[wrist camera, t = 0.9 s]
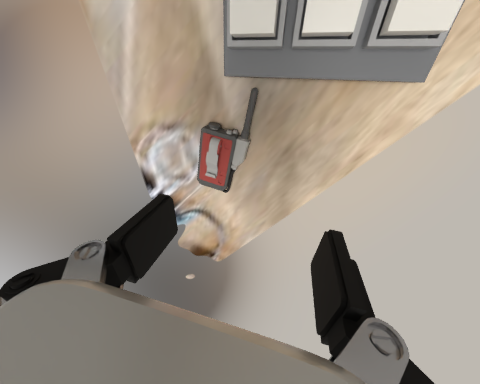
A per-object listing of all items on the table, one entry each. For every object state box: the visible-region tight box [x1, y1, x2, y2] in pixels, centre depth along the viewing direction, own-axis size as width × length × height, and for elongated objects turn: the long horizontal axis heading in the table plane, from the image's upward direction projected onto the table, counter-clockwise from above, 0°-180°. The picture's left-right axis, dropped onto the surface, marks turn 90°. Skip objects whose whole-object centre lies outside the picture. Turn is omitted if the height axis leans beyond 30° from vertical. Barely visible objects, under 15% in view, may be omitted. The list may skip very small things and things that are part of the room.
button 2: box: [301, 0, 362, 37], centre depth 18 cm, size 5×5×2 cm
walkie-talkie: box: [197, 88, 258, 193], centre depth 32 cm, size 9×4×20 cm
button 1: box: [230, 0, 279, 37], centre depth 19 cm, size 5×5×2 cm
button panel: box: [223, 0, 465, 82], centre depth 20 cm, size 13×25×4 cm, turn 88°
